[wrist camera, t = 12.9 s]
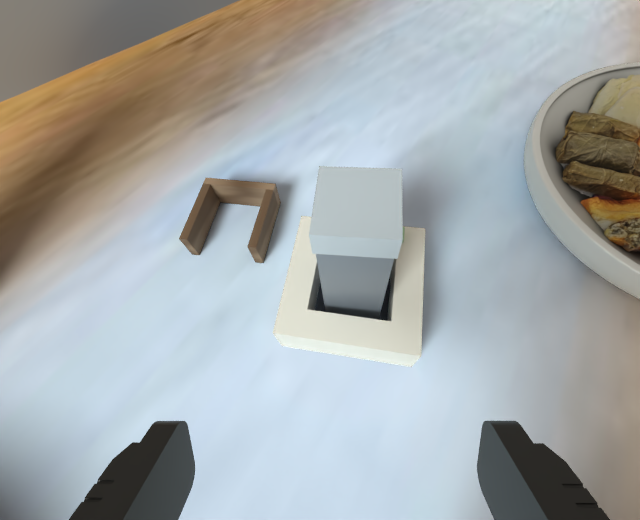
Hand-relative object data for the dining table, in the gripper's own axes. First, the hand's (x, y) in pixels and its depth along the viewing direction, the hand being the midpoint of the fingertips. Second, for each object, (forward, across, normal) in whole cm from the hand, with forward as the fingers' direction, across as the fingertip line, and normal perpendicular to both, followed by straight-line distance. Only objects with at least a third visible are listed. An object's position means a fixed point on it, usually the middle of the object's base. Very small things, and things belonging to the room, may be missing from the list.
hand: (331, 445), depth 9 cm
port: (+21, -2, +5) cm, 22 cm away
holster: (+27, +10, -1) cm, 29 cm away
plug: (+21, -2, +5) cm, 22 cm away
